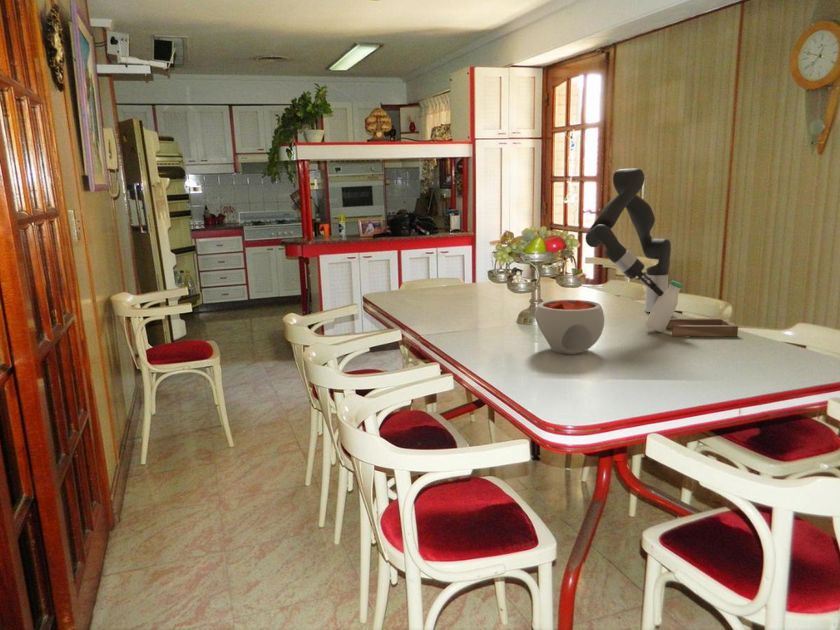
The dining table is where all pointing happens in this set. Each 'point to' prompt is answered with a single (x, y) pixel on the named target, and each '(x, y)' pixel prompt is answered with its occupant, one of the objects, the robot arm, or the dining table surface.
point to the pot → (570, 324)
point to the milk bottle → (664, 308)
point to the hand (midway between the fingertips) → (661, 294)
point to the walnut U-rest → (702, 327)
